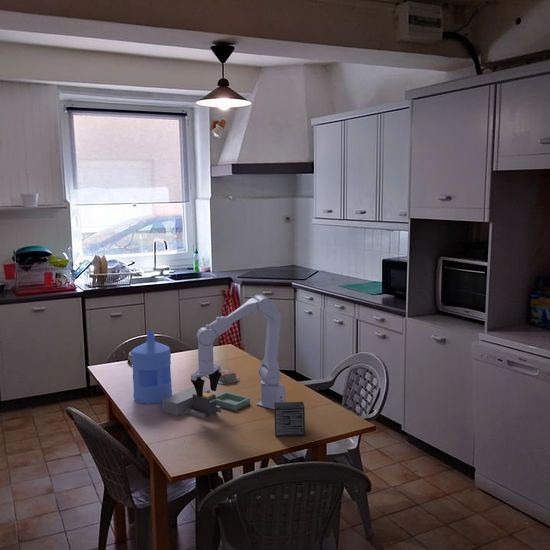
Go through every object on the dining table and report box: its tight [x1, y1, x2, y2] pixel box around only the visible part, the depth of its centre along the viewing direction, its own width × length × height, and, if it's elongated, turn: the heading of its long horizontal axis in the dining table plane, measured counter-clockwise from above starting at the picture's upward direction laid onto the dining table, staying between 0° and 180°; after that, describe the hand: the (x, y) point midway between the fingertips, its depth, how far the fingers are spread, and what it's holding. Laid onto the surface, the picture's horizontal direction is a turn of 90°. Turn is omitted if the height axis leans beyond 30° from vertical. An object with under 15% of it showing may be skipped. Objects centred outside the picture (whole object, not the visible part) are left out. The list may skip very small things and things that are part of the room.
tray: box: [216, 391, 251, 412], centre depth 231 cm, size 13×9×2 cm
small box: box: [273, 401, 306, 438], centre depth 203 cm, size 11×6×10 cm, turn 92°
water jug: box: [131, 330, 173, 405], centre depth 237 cm, size 16×16×28 cm
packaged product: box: [205, 363, 240, 386], centre depth 264 cm, size 18×5×10 cm
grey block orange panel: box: [192, 392, 217, 417], centre depth 222 cm, size 8×4×7 cm, turn 54°
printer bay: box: [162, 386, 222, 419], centre depth 226 cm, size 18×18×5 cm
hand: (206, 393), depth 221 cm, fingers open, 7 cm apart
